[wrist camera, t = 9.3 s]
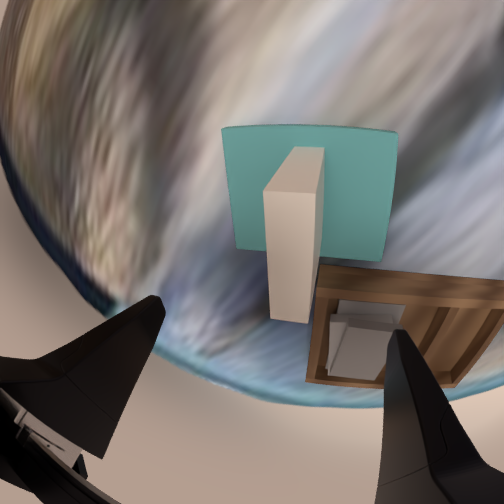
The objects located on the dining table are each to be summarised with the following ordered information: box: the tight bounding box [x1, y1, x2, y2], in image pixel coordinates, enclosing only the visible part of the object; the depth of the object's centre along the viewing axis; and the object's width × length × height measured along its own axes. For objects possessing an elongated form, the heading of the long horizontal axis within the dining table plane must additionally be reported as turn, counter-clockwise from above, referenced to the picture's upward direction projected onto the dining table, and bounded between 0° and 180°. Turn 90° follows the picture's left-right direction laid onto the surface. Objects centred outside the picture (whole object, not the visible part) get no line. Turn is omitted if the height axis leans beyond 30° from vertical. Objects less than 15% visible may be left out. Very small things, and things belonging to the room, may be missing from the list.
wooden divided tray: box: [305, 264, 504, 389], centre depth 23 cm, size 20×15×3 cm
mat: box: [221, 124, 398, 262], centre depth 19 cm, size 12×10×1 cm
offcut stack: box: [325, 299, 406, 380], centre depth 23 cm, size 6×11×3 cm, turn 5°
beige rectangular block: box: [263, 146, 325, 324], centre depth 15 cm, size 2×7×8 cm, turn 5°
